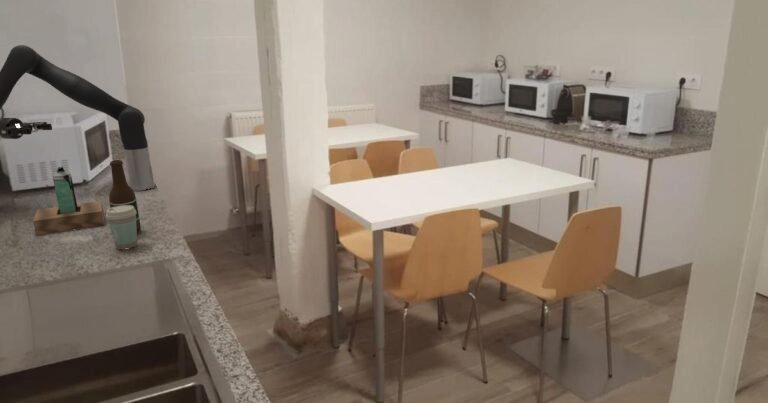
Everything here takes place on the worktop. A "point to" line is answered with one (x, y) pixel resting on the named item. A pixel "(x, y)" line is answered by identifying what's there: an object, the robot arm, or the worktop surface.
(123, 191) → the beer bottle
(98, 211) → the block
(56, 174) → the spray can
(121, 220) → the coffee cup
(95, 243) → the worktop surface
